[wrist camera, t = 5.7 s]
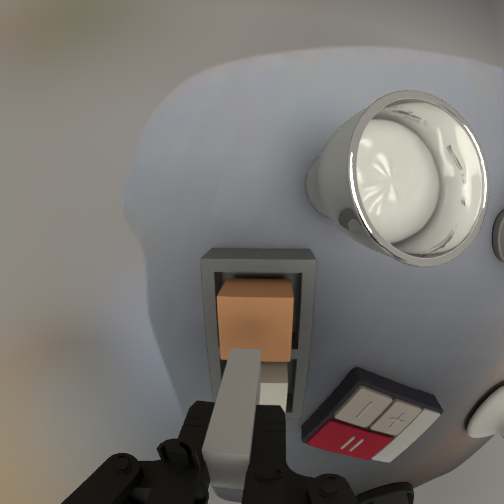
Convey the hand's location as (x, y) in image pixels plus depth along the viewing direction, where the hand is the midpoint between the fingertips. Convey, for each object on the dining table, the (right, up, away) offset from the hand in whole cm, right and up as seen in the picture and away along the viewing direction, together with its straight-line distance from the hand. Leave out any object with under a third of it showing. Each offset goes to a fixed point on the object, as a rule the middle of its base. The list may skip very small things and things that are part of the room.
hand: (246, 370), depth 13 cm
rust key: (+1, +2, +9) cm, 9 cm away
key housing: (+1, -2, +13) cm, 13 cm away
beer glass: (+8, +12, +9) cm, 17 cm away
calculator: (+15, -14, +15) cm, 25 cm away
